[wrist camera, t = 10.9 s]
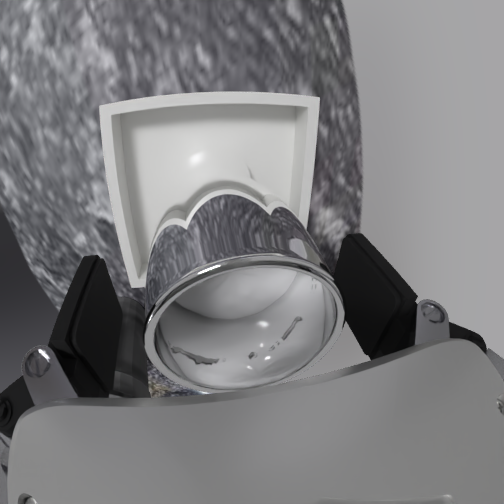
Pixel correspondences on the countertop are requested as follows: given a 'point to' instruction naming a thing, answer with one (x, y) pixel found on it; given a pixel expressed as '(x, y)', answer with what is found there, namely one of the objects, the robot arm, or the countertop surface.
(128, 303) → the beverage cup
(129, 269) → the tray
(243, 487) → the robot arm
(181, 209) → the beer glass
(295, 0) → the countertop surface
